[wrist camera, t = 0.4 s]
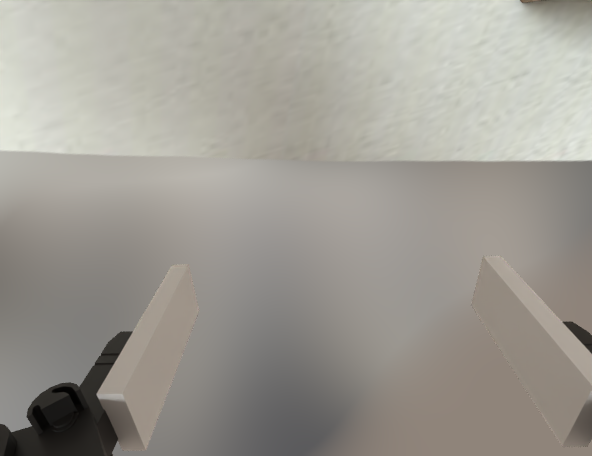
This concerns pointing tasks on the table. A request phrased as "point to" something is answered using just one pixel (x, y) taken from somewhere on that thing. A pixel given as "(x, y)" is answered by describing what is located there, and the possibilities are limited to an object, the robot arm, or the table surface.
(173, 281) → the robot arm
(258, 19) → the table surface
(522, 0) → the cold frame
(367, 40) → the table surface
